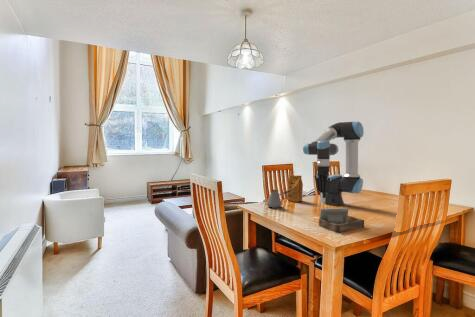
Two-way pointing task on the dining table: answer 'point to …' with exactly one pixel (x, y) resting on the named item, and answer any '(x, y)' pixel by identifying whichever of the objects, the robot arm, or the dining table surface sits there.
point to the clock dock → (350, 225)
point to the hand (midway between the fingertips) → (322, 202)
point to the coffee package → (295, 188)
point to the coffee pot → (275, 199)
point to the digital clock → (334, 215)
